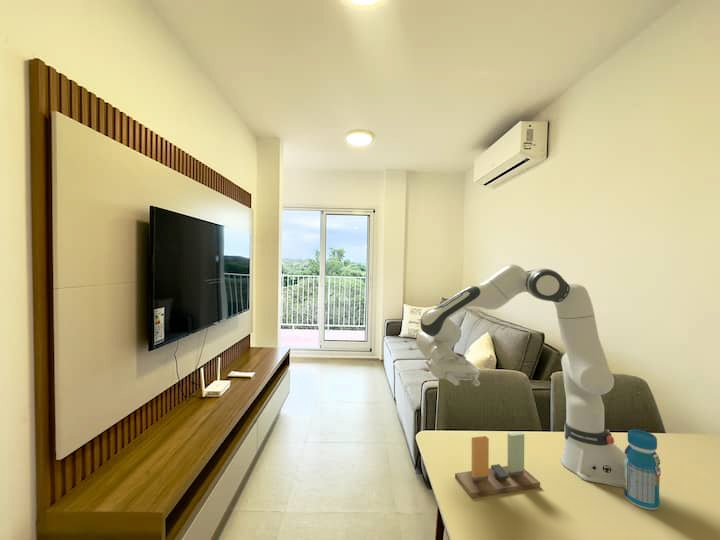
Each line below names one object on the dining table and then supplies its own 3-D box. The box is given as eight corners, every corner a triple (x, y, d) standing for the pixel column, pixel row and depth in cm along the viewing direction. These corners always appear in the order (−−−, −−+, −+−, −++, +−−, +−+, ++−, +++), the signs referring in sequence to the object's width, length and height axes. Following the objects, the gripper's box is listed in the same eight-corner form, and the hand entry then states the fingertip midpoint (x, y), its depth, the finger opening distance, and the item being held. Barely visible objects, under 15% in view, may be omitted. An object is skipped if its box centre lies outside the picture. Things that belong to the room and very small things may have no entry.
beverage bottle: (636, 510, 97) (636, 440, 97) (617, 490, 106) (617, 426, 105) (668, 512, 96) (669, 442, 96) (646, 492, 105) (646, 428, 105)
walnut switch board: (518, 468, 117) (518, 464, 117) (540, 487, 107) (540, 482, 107) (455, 477, 112) (455, 473, 112) (471, 497, 102) (471, 493, 102)
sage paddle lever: (521, 471, 113) (521, 431, 112) (524, 474, 111) (524, 434, 111) (507, 473, 111) (507, 433, 111) (510, 476, 110) (510, 435, 110)
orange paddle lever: (485, 477, 110) (486, 436, 110) (488, 480, 108) (488, 438, 108) (471, 479, 109) (471, 437, 109) (473, 482, 107) (474, 440, 107)
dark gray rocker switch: (498, 469, 113) (499, 464, 113) (508, 481, 108) (509, 475, 108) (490, 471, 112) (490, 465, 112) (499, 483, 107) (500, 476, 107)
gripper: (425, 351, 123) (448, 374, 111) (467, 355, 132) (492, 377, 120) (419, 366, 125) (441, 391, 113) (460, 369, 134) (485, 392, 122)
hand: (468, 384), depth 117 cm, fingers open, 8 cm apart
